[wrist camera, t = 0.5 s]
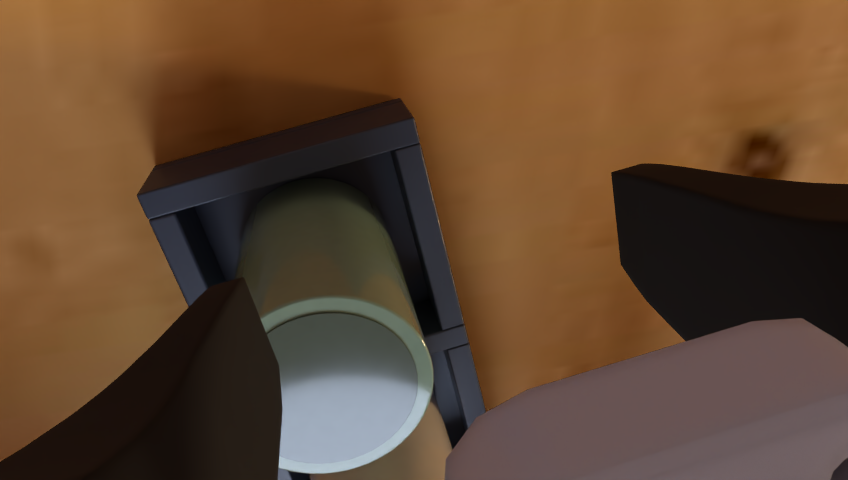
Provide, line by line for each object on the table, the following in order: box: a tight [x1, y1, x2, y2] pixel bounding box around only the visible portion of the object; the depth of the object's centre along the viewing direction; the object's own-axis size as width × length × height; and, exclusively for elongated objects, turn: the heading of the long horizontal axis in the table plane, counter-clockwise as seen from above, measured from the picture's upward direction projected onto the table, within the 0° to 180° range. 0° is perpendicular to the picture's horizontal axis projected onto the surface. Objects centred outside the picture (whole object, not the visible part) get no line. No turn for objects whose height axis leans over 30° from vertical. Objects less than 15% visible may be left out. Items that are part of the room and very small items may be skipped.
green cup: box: [234, 178, 434, 474], centre depth 19 cm, size 5×5×8 cm
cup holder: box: [137, 98, 486, 480], centre depth 23 cm, size 15×8×3 cm, turn 13°
